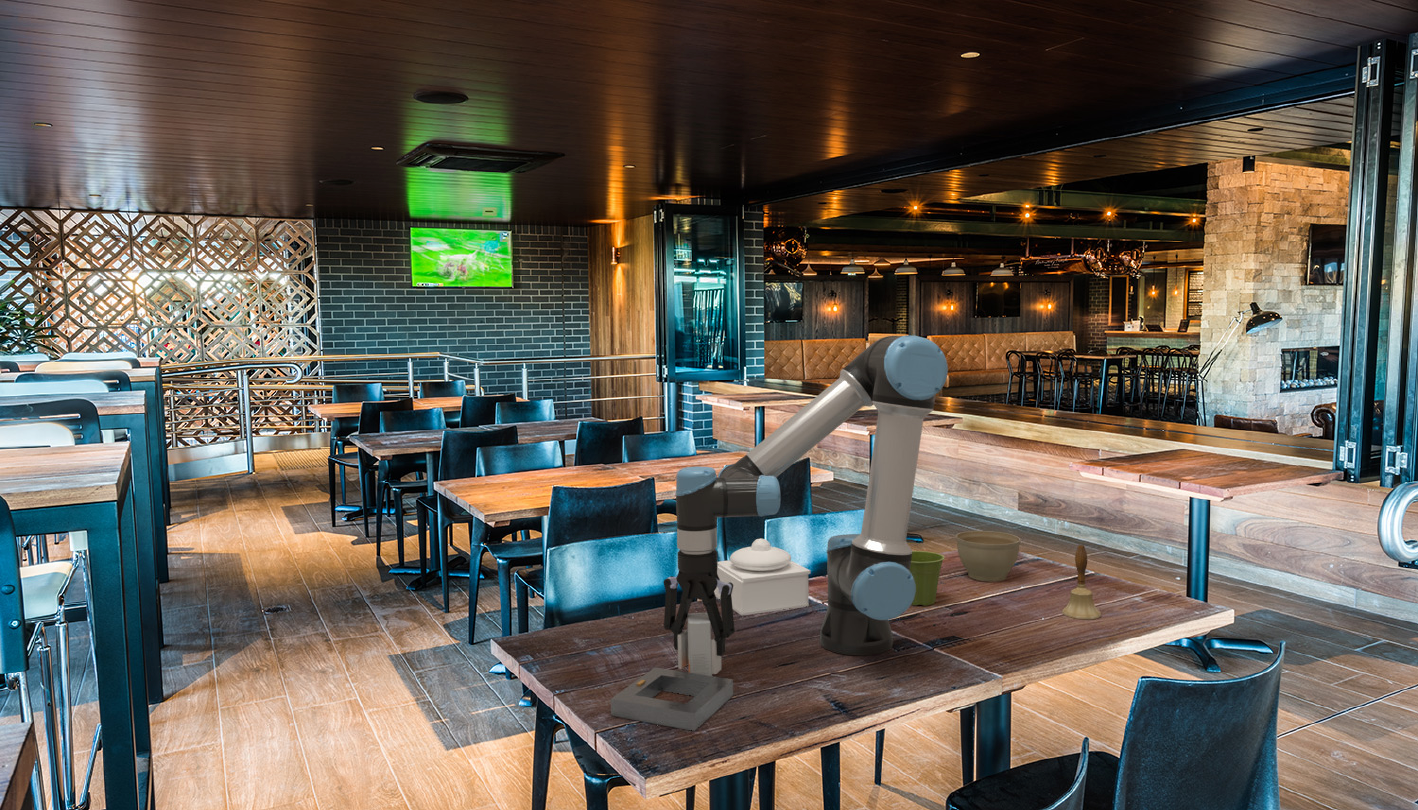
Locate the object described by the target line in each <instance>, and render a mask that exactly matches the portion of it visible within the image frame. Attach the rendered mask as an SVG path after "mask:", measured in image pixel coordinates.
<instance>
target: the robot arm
mask: <svg viewBox="0 0 1418 810" xmlns="http://www.w3.org/2000/svg"><path fill="white" fill-rule="evenodd" d="M948 370H949V369H948V360H947V359H946V356H945V353H944V352H943V350H942V349H941V348H940V347H939V345H937V344H936V343H935V342H934V341H932V340H930V339H928V338H926V337H922V336H918V335H908V334H907V335H887V336H883V337H882V338H881V337H880V339H877V340H876V341H874V342H873V343H872V344H870V345H869V346H868V347H866V348H865V349H864V350H863V351H861V353H859V354H858V355H857V356H856V357H855V358H854V359H852V361H850V362H849V363H848V364H847V365H845V366H844V367H843V368H842V369H841V370H840V373H839V378H838V379H836V380H835V381H834V382H833V383H832V384H830V385H829V386H828V387H827V388H825V389H824V390H823V391H822V392H820V393H819V394H818V395H816V397H814V398H813V399H812V400H811V401H810V402H808V403H807V404H806V405H805V406H804V407H802V408H801V409H800V410H798V411H797V412H796V413H794V415H793V416H792V417H790V418H789V419H788V420H787V421H785V422H784V423H782V424H781V425H780V426H779V427H778V428H776V430H774V431H773V432H771V434H769V435H768V436H767V437H765V438H764V439H763V440H762V441H761V442H760V443H758V444H757V445H756V446H754V447H753V448H752V449H751V450H750V451H749V452H747V453H746V454H745V455H744V456H742V457H741V458H740V459H738V460H737V462H735V463H730V464H728V465H726V466H724V467H723V468H722V469H720V471H719V473H718V475H717V471H716V469H715V468H714V467H711V466H710V467H709V466H687V467H682V468H681V469H679V470H678V471H677V473H676V485H675V487H676V488H675V503H676V504H675V505H676V507H675V509H676V529H677V530H676V531H677V532H676V536H677V537H676V545H677V546H676V547H677V549H678V551H677V570H678V573H677V574H676V576H672V575H671V576H669V577H667V578H666V579H664V580H663V585H664V589H665V599H664V619H663V628H664V629H665V630H666V631H667V630H669V631H670V632H671V633H672V634H673V648H674V650H676V651H677V668H678V669H679V670H682V669H683V668H685V667H687V666H688V632H687V630H685V629H686V627H685V625H686V623H687V614H689V611H690V609H691V604H692V602H693V600H694V599H696V600H699V601H702V604H703V606H704V608H705V611H706V613H707V614H708V617H709V620H710V622H711V630H712V632H713V634H714V637H713V638H711V658H712V675H716V674H718V673H719V672H720V671H722V657H723V656H724V655H725V654H726V639H727V638H730V637H731V636H733V634H735V632H736V630H735V628H736V627H735V620H734V619H735V618H734V610H733V607H732V597H731V594H732V590H733V584H732V583H731V582H729V583H725V582H722V581H720V579H719V577H718V574H717V569H718V562H719V561H718V551H717V549H716V548H717V547H718V535H717V534H718V533H717V531H718V528H717V526H718V521H717V519H718V518H736V517H737V518H739V517H740V518H741V517H765V516H772V515H776V514H777V513H778V512H779V510H780V507H781V487H780V482H779V480H778V479H777V478H778V477H779V476H780V475H781V474H782V473H784V472H785V471H786V470H787V469H789V468H790V467H791V466H792V465H794V464H795V463H796V462H797V461H798V460H800V458H802V457H803V456H804V455H806V454H807V453H808V452H809V451H811V450H812V449H813V448H814V447H815V446H816V445H818V444H819V443H820V442H821V441H823V440H824V439H825V438H826V437H827V436H829V435H830V434H832V433H833V432H834V431H835V430H836V429H838V427H839V428H840V426H841V425H842V424H843V423H845V422H846V421H847V420H849V419H850V418H851V417H852V416H854V415H855V414H856V413H857V412H858V411H859V410H861V409H862V408H863V407H872V406H874V407H875V409H876V410H877V412H878V413H877V421H876V427H875V434H874V440H873V447H872V456H871V462H870V469H869V474H868V475H869V477H868V482H867V491H866V495H865V496H866V498H865V504H864V511H863V519H862V527H861V532H860V533H850V534H849V533H848V534H838V535H833V536H831V537H830V538H829V539H828V540H827V547H826V549H827V550H826V555H827V558H826V559H827V608H826V612H825V615H824V618H823V620H822V624H821V626H820V630H819V643H820V645H821V646H822V647H823V649H826V650H828V651H830V652H833V653H837V654H842V655H848V656H849V655H850V656H871V655H877V654H882V653H885V652H887V651H889V650H891V648H893V645H894V635H893V631H892V627H891V624H890V622H889V620H892V619H896V618H898V617H900V616H901V615H902V614H904V613H905V612H906V611H907V610H908V609H909V608H911V606H912V605H911V604H912V602H913V600H914V597H915V592H916V586H915V581H914V578H913V576H912V574H911V573H910V566H911V558H912V551H913V549H912V548H911V547H910V545H909V544H908V541H907V534H908V530H909V529H908V528H909V522H910V516H911V515H910V514H911V508H912V507H911V506H912V502H913V493H914V487H915V480H916V473H917V468H918V467H917V466H918V459H919V453H920V452H919V451H920V445H921V440H922V432H923V425H924V419H925V418H926V417H928V415H929V414H931V413H932V412H933V411H934V408H935V407H934V406H935V400H936V395H937V394H938V393H939V392H940V391H942V389H943V387H944V386H945V384H946V382H947V378H948V372H949V371H948ZM678 586H679V587H680V589H681V590H682V593H681V597H680V603H679V608H678V609H677V597H678V589H677V588H678ZM717 587H718V588H719V593H720V594H721V596H720V608H721V609H720V610H719V607H718V604H717V598H716V596H715V593H714V591H715V589H716V588H717ZM720 611H721V613H720Z"/></svg>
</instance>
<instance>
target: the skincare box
mask: <svg viewBox="0 0 1418 810" xmlns="http://www.w3.org/2000/svg"><path fill="white" fill-rule="evenodd" d="M686 623H687V630H686V631H687V639H688V665H687V666H688V669H687V670H688V673H694V674H701V675H707V676H713V674H712V651H711V640H712V626H711V622H710V620H709V617H708V614H707V612H693V613H692V612H691V613H689V612H688V614H687V619H686Z"/></svg>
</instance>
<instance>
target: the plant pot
mask: <svg viewBox="0 0 1418 810" xmlns="http://www.w3.org/2000/svg"><path fill="white" fill-rule="evenodd" d="M945 558H946V557H945V555H943V554H941V553H938V552H933V551H923V550H912V558H911V566H910V573H911V574H912V576H913V578H914V581H915V586H916V592H915V597H914V600H913V602H912V604H911V605H910V606H918V605H921V606H924V607H925V606H926V607H927V606H930V605H933V604H935V602H936V599H937V591H938V585H939V578H940V572H941V569H942V565H943V561H944V560H945Z"/></svg>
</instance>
